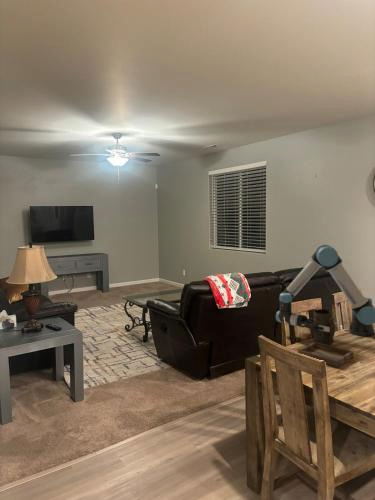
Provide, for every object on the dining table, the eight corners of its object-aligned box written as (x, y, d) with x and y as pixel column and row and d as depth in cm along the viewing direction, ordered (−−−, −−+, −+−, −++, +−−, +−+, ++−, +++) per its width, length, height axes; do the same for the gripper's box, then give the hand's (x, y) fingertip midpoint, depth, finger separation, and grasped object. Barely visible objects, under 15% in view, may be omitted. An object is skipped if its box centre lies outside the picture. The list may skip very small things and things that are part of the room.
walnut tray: (314, 347, 215) (314, 341, 215) (353, 357, 199) (353, 351, 198) (297, 356, 203) (297, 350, 203) (337, 367, 186) (337, 361, 186)
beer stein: (308, 341, 223) (309, 310, 219) (321, 337, 228) (322, 307, 224) (329, 351, 210) (330, 318, 206) (342, 347, 215) (343, 314, 211)
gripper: (308, 322, 238) (342, 329, 221) (289, 330, 223) (324, 338, 207) (308, 311, 237) (342, 317, 221) (289, 318, 223) (324, 325, 206)
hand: (333, 327), depth 214 cm, fingers closed on beer stein, 9 cm apart
